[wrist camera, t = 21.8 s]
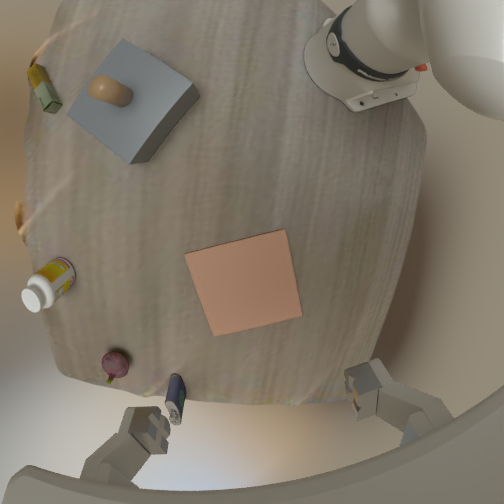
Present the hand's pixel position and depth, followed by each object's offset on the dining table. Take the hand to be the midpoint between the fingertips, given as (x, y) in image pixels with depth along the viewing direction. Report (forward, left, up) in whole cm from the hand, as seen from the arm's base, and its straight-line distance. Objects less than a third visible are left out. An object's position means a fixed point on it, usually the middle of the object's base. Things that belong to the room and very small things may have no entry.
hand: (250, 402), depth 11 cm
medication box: (+29, -34, -40) cm, 60 cm away
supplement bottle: (+38, +2, -39) cm, 55 cm away
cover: (+11, -22, -39) cm, 46 cm away
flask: (+24, +36, -39) cm, 59 cm away
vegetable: (+34, +24, -39) cm, 57 cm away
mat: (+2, +14, -39) cm, 42 cm away
